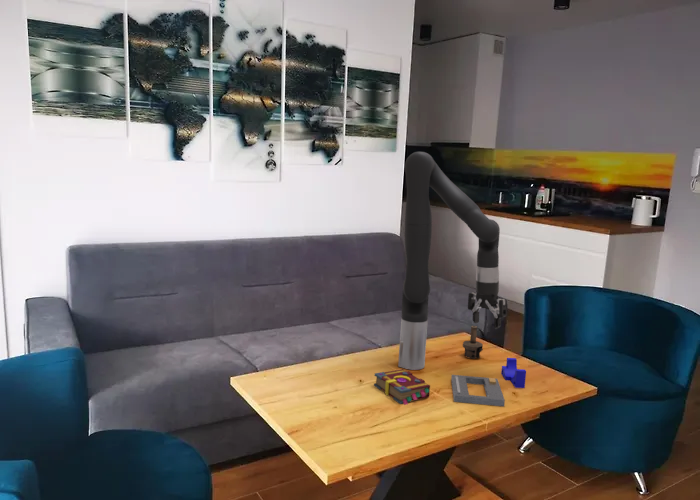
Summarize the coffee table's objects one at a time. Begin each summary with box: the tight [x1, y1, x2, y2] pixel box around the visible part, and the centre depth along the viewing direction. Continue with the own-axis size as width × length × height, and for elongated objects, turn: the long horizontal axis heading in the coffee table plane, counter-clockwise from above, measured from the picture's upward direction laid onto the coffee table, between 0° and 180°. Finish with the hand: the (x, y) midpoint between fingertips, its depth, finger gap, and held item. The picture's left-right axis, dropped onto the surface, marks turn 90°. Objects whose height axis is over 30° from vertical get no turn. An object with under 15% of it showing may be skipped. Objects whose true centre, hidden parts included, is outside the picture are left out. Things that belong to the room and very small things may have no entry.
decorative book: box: [373, 368, 431, 406], centre depth 173 cm, size 11×16×5 cm
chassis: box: [450, 374, 506, 407], centre depth 176 cm, size 15×17×3 cm
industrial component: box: [462, 325, 484, 360], centre depth 208 cm, size 9×7×12 cm
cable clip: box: [500, 357, 527, 389], centre depth 187 cm, size 12×4×6 cm, turn 0°
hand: (486, 325), depth 188 cm, fingers open, 8 cm apart
